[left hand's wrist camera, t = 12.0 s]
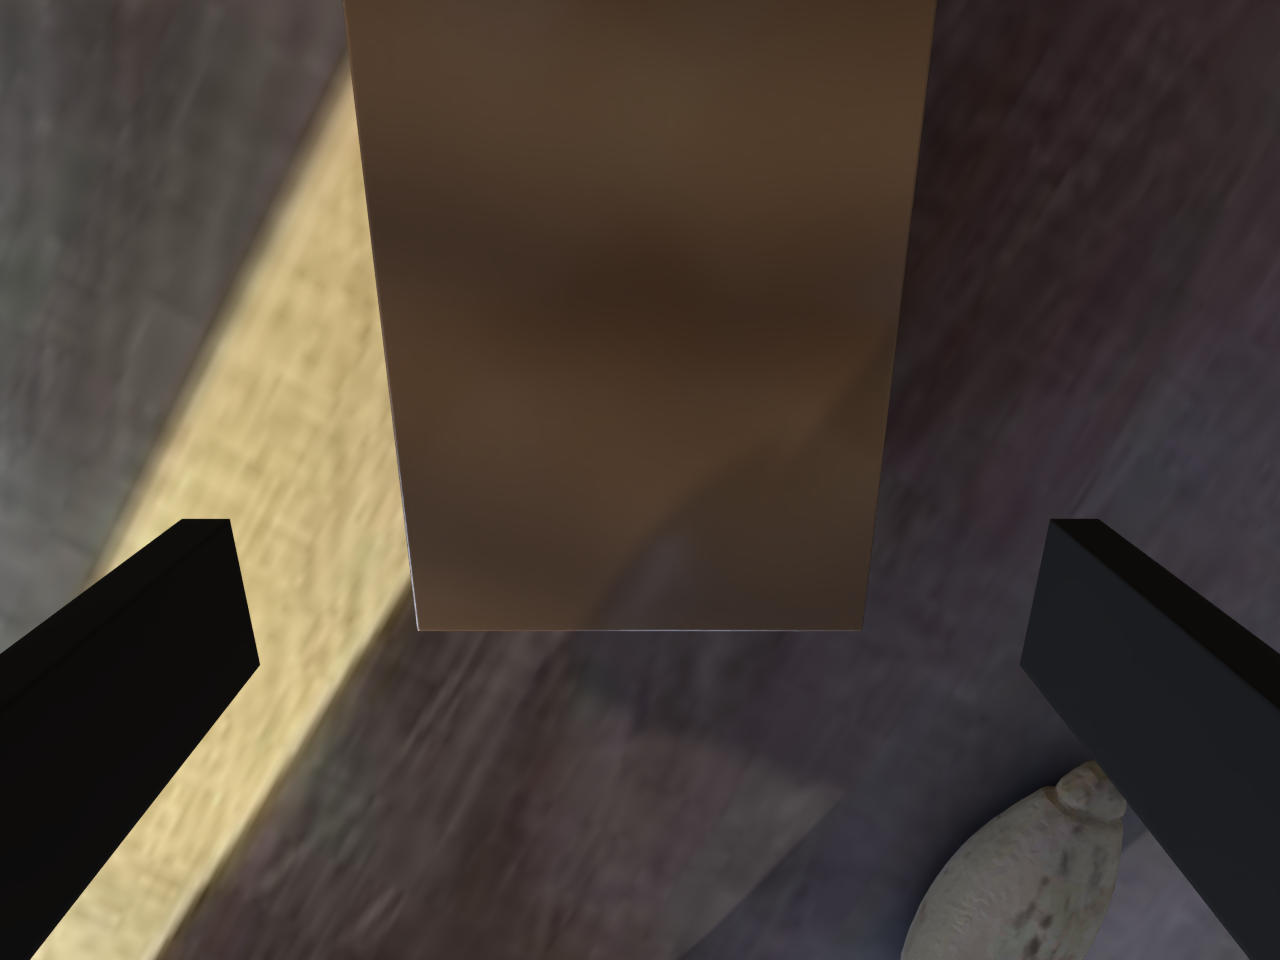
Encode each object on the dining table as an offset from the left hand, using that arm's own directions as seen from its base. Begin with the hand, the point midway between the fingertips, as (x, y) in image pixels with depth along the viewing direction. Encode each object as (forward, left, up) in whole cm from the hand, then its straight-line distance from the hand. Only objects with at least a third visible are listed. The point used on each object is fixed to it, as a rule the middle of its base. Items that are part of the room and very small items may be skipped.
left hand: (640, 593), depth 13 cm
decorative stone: (-23, -12, -13) cm, 29 cm away
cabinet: (+5, -1, -13) cm, 14 cm away
